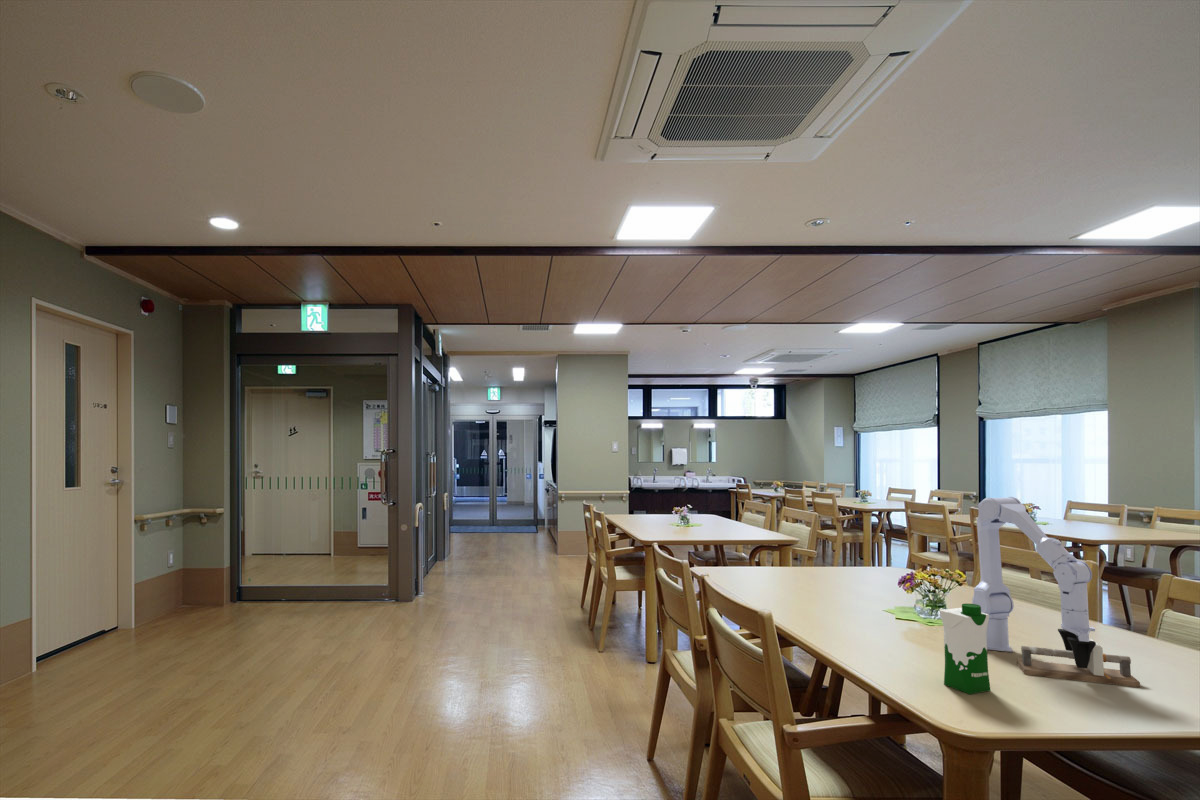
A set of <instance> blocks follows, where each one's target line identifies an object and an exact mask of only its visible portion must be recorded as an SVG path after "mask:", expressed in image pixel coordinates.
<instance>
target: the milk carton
mask: <svg viewBox="0 0 1200 800" xmlns="http://www.w3.org/2000/svg"><path fill="white" fill-rule="evenodd" d="M939 614H940V618H941V622H942V627H943V645H944V646H943V647H944V648H943V649H944V671H943V672H944V676H943V685H945V686H948V687H950V688H953V689H955V690H958V691H960V692H962V693H964V694H967V695H974V694H979V693H983V692H989V691H991V685H990V674H989V662H988V661H989V660H988V649H987V634H986V633H987V626H988V620H989V614H985V613H981V606H979V605H976V604H972V603H962V604H961V607H955V608H946V609H940V610H939Z"/></svg>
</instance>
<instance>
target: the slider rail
mask: <svg viewBox="0 0 1200 800" xmlns="http://www.w3.org/2000/svg"><path fill="white" fill-rule="evenodd" d="M1020 649H1021V650H1020V651H1021V657H1022V659H1019V658H1017V659H1016V665H1017V666H1018V667H1019V669H1020V670H1021V672H1022V673H1023V674H1024V675H1027V676H1029V675H1030V676H1038V677H1047V678H1056V679H1063V680H1073V681H1082V682H1091V683H1098V684H1109V685H1117V686H1125V687H1134V688H1141V682H1140V681H1139V680H1138V679H1137V678H1135V677H1134V675H1132V671H1131V664H1132V659H1131V657H1130V656H1127V655H1125V656H1124V655H1116V654H1106V653H1103V663H1113V664H1119V669H1113V668H1104V676H1099V675H1094V674H1093V673H1092V672H1091V671H1090V670H1089V669H1088V668H1078V667H1077V666H1076V664H1068V663H1067V664H1066V663H1058V662H1049V661H1037V660H1032V655H1036V656H1037V655H1038V656H1044V657H1045V656H1046V657H1054V658H1055V657H1056V658H1065V659H1066V658H1067V659H1069V658H1074V654H1073V651H1068V650H1066V649H1057V648H1049V647H1046V648H1045V647H1037V646H1028V645H1027V646H1025V645H1021V647H1020ZM1089 660H1090V659H1089Z"/></svg>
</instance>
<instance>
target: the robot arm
mask: <svg viewBox="0 0 1200 800" xmlns="http://www.w3.org/2000/svg"><path fill="white" fill-rule="evenodd" d="M977 506H978V507H977V508H978V511H977V512H978V516H977V518H976V529H977V543H978V544H977V545H978V555H979V556H978V557H979V558H978V559H979V570H980V571H979V572H980V581H979V583H978V584H977V585H976V586H975V587H974V588H973V596H972V599H971V604H976V605H979V606H981V613H985V614H989V620H988V626H987V633H986V634H987V651H988V650H991V651H1000V652H1010V653H1013V652H1014V650H1013V648H1012V647H1011V646H1010V644H1009V643H1010V641H1009V640H1010V639H1009V638H1010V637H1009V620H1008V618H1009V617H1010V614H1011V613H1012V612H1013V610H1014V607H1015V605H1014V600H1013V598H1012V596H1011V592H1010V591H1011V590H1010V588H1009V587H1007V585H1005V584H1004V582H1003V570H1002V569H1003V568H1002V558H1001V557H1002V555H1001V544H1000V543H1001V541H1000V528H1002V527H1003V526H1005V524H1006V523H1008V524H1013V525H1015V526H1016V527H1017V528H1018V529H1019V530H1020V531H1021V532H1022V533H1023V534H1024V535H1025V536H1027V538H1029V539H1030V540H1031V541H1032V542H1033V543H1034V544H1035V551H1036V553H1037V554H1039V556H1040V557H1041V559H1043V561H1045V562H1046V563H1047V564H1048V565H1049V566H1050V567H1051V568H1052V570H1053V572H1052V573H1053V577H1054V579H1055V580H1056V582H1057V585H1058V589H1059V593H1060V613H1061V614H1060V615H1061V624H1060V627H1061V628H1058V629H1057V632H1058V633H1059V634H1060V637H1061V639H1062V642H1063V645H1064V647H1065V649H1064V650H1068V651H1073V654H1074V658H1068V659H1069V660H1074V662H1075V663H1074V664H1075V665H1076V666H1077V667H1078V668H1087V667H1088V664H1089V659H1090V655H1091V652H1092V650H1093V648H1094V647H1095V645H1096V643H1097V641H1095V640H1094V641H1095V642H1094V641H1089V639H1090V633H1091V632H1096V628H1095V627H1094V626H1090V619H1089V617H1090V616H1089V613H1090V612H1089V599H1088V598H1089V595H1088V583H1089V582H1091V581H1092V578H1093V572H1092V570H1091V568H1090V566H1089V564H1088V563H1087V562H1085V561H1083V560H1079V559H1077V558H1076V557H1075V556H1074V555H1072V553H1070V552H1069V551H1068V550H1067V549H1066V548H1065V547H1064V546H1063V543H1062V542H1061V541H1060V540H1059V539H1056V538H1055V537H1048V536H1047V535H1046V533H1045V532H1044V531H1043V530H1042V529H1041V528H1040V526H1039V525H1038V524H1037V523H1036V522H1035V521H1034V520H1033V519H1034V518H1032V517H1031V516H1030V515H1029V514H1028V513H1027V509H1026V506H1025V504H1023V503H1021V500H1020V499H1018V498H1017V497H1014V496H1008V497H986V498H984V499H982V500H981V501H980V502H979V503H978V504H977Z"/></svg>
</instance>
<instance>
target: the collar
mask: <svg viewBox="0 0 1200 800" xmlns="http://www.w3.org/2000/svg"><path fill="white" fill-rule="evenodd" d="M1089 641H1094V642H1096V641H1095V640H1093V639H1092V638H1089ZM1103 654H1104V651H1103V647H1102V646H1101V645H1099V644H1098V642H1096V645H1095V647H1094V648H1093V650H1092V652H1091V655H1090V660H1089V664H1088V667H1087V668H1088V669H1089V670H1090V671H1091V672H1092V673H1093V674H1094V675H1099V676H1104V662H1103Z"/></svg>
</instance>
